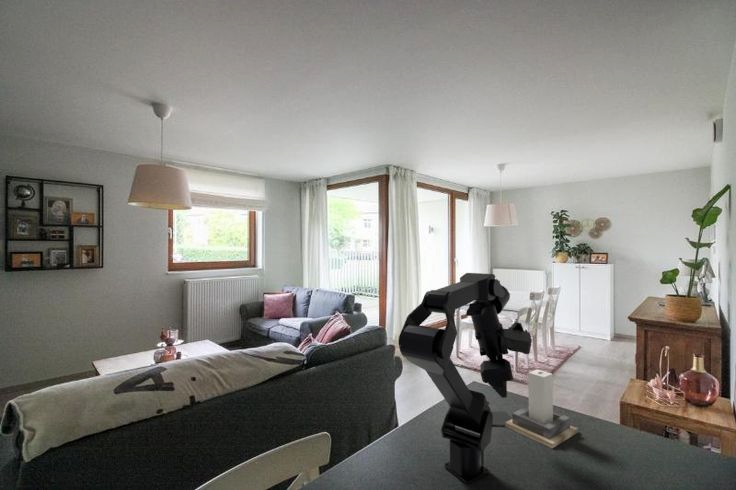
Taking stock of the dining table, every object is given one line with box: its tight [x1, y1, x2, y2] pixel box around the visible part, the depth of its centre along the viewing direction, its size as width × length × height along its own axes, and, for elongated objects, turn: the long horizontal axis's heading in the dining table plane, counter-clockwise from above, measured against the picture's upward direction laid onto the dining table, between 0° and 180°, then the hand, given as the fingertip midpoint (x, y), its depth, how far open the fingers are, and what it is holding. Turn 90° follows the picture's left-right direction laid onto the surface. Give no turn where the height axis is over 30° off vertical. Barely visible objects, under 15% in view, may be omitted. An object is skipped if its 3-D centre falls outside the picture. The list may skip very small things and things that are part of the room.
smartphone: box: [491, 410, 512, 428], centre depth 93 cm, size 7×1×15 cm
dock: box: [504, 405, 579, 449], centre depth 88 cm, size 12×12×4 cm
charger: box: [527, 368, 554, 424], centre depth 88 cm, size 4×4×13 cm
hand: (502, 384), depth 83 cm, fingers open, 9 cm apart
